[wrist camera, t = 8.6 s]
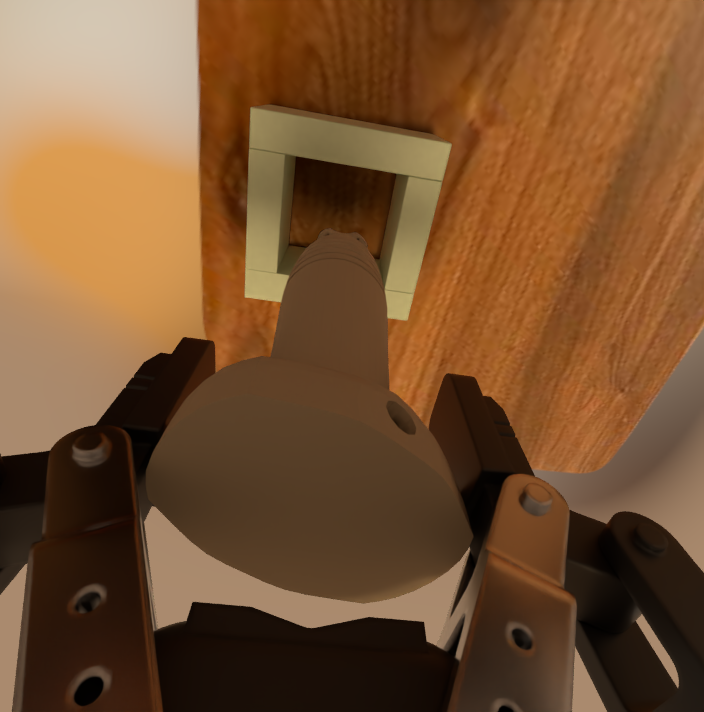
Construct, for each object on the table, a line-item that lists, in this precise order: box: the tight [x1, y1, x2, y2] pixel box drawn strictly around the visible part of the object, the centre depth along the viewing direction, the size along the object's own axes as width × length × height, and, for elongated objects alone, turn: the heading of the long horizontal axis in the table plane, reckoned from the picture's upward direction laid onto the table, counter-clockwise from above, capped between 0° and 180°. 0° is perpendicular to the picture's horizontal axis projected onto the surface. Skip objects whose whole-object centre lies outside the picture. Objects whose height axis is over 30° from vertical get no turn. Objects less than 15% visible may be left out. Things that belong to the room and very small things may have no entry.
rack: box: [245, 104, 452, 321], centre depth 28 cm, size 11×11×6 cm
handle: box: [146, 228, 473, 603], centre depth 14 cm, size 5×6×15 cm
